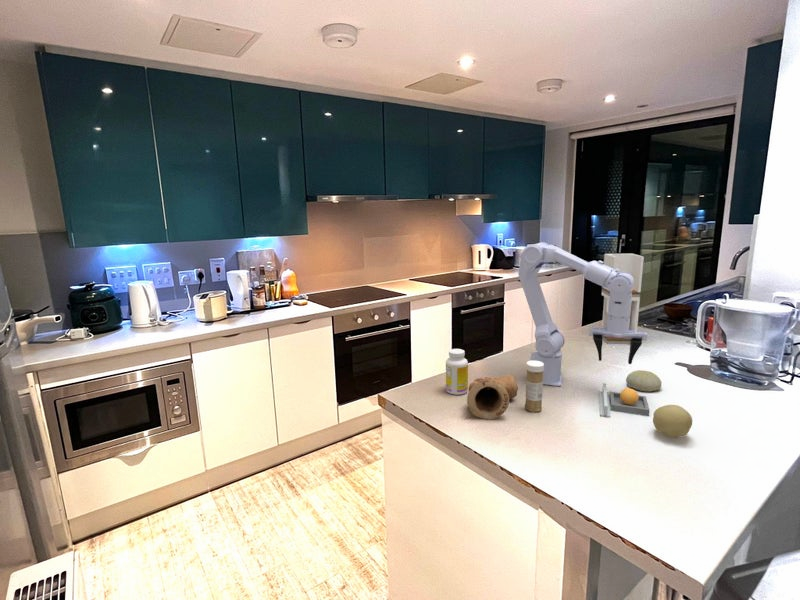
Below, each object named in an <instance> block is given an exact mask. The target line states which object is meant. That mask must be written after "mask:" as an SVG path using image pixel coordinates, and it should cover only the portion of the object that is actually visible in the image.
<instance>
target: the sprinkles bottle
mask: <svg viewBox="0 0 800 600" xmlns="http://www.w3.org/2000/svg"><path fill="white" fill-rule="evenodd" d="M525 368H526V377H525V378H526V381H525V382H526V383H525V405H524V408H525V410H527V411H529V412H530V413H531V412H533V413H538V412H541V411H542V410H543V407H542V406H543V405H542V402H543V391H544V389H543V387H544V384H543V371H544V364H543V363H542V362H540V361H530V360H528V361H527V362H526V366H525Z"/></svg>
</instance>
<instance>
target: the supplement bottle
mask: <svg viewBox="0 0 800 600" xmlns="http://www.w3.org/2000/svg"><path fill="white" fill-rule="evenodd" d="M465 355H466V353H465V350H464V349H461V348H452V349H449V351H448V356H449V357H448V358H447V359H446V360H445V390H446V392H447V393H449V394H450V395H457V396H460V395H465V394H466V393H468V392H469V361H468V359H466V358H465Z"/></svg>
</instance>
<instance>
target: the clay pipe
mask: <svg viewBox="0 0 800 600" xmlns="http://www.w3.org/2000/svg"><path fill="white" fill-rule="evenodd" d="M518 391H519V386H518V383H517V381H516V377H515V375H511V374H507V375H504V376H501V377H493V378H492V377H489V376H485V377H484V378H483V377H479V378H478V377H477V378H476V379H474V380H473V382H470V383H469V384H468V392H467V398H466V401H467V406H468V408H469V410H470V412H471V413H472V414H473V415H474V416H475V417H478V418H479V419H483V420H489V421H490V420H494V419H497V418H499V417H501V416H502V415H503V414H504V413H506V411H507V410H508V408H509V405H510V399H511V400H512V399H515V398H516V397H517V395H518Z"/></svg>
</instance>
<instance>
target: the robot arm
mask: <svg viewBox="0 0 800 600" xmlns="http://www.w3.org/2000/svg"><path fill="white" fill-rule="evenodd" d="M519 259H520V261H519V268H518V272H517V273H518V279H519V281H520V284H521V287H522V289H523V293H524V296H525V299H526V301H527V305H528V309H529V311H530V313H531V317H532V319H533V323H534V326H535V332H534V338H535V345H534V346H535V351H536V352H535V351H534V352H533V351H532V352H531V353H530V358H529V359H530V360H529V361H540V362H542V363H543V364H544V371H543V385H547V386H554V387H555V386H556V387H561V386H562V383H563V382H562V381H563V375H561V374H562V359H563V358H562V357H563V355H562V354H563V353H562V350H561V348H563V347H564V345H565V343H566V340H565V336H564V335H563V333H561V332H560V330H559V328H558V325H556V323H555V322H553V320H552V319H553V318H552V316H551V313H550V310H549V307H548V304H547V301H546V297H545V296H544V293H543V289H542V287H541V284H540V281H539V277H538V274H539V272H540V270H541V269H542V267H543V266H544V265H545V264H546V263H555V262H556V263H559V264H561V265H564V266H567V268H570V269H573V270H575V271H579V272H580V273H582V275H583V277H584V279H585V280H588V281H590V282H591V283H594V284H596V285H599V286H601V288H602V287H604V288H608V290H609V291H610V299H609V305H608V316H607V328H602V327H589V332H588V336H592V339H593V342H594V344H595V347H596V350H597V355H598V361H599V362H600V361H601V362H602V359H603V358H602V354H603V353H602V350H603V349H602V348H603V339H602V338H603V337H602V336H607V337H618V338H629V339H631V341H630V344H629V353H628V360H627V363H628V365H632V363H633V360H634V357H635V355H636V353H637V351H639V349H640V348H641V346H642V344H643V342H646V341H647V338H648V337H647V336H648V333H647V332H645V331H644V332H643V331H638V330H637V331H633V330H629V324H630V314H631V304H632V300H631V298H632V291H631V290H632V289H633V287H634V285H635V280H634V278H633V276H632V275H630V274H629V273H628V272H620V270H619V269H616V270H615V269H613V268H611V267H608V266H606V265H604V260H603V261H602V260H601V259H600V260H598V261H597V260H592V261H587V260H584V259H582V258H580V257H578V256H577V255H574V254H572V253H571V252H568V251H567V250H564V249H562V248H560V247H558V246H556V245H553V244H549V243H547V242H544V241H541V242H538V243H534V244H533V243H531V244H528V245H527V246H524V249H523V250H522V252H521V253H520V254H519ZM619 272H620V273H619Z"/></svg>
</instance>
